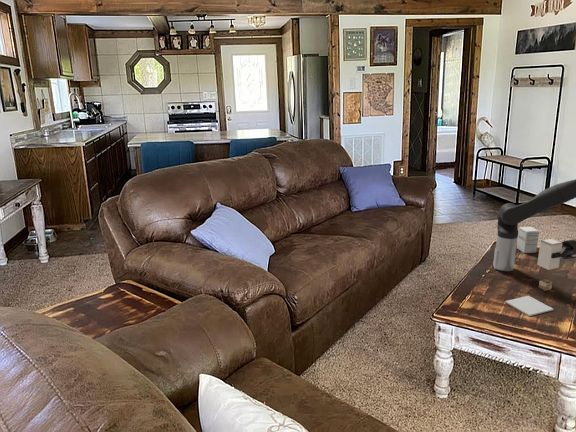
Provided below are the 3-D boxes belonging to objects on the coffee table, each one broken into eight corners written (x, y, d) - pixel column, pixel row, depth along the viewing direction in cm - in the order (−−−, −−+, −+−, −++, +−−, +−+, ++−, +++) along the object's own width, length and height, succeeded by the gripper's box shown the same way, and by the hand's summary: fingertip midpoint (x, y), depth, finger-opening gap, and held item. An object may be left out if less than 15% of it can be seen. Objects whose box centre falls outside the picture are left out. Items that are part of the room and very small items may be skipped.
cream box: (548, 269, 206) (552, 244, 202) (537, 264, 211) (540, 240, 207) (558, 267, 207) (562, 242, 204) (547, 262, 213) (550, 238, 209)
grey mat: (529, 316, 190) (529, 314, 190) (505, 302, 202) (505, 301, 201) (553, 310, 194) (553, 308, 194) (528, 296, 206) (528, 295, 206)
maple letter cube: (545, 290, 211) (546, 283, 210) (538, 287, 214) (539, 280, 213) (551, 289, 212) (552, 282, 211) (544, 286, 215) (545, 278, 214)
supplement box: (516, 248, 260) (519, 227, 256) (528, 247, 261) (531, 226, 257) (523, 253, 253) (526, 231, 249) (536, 252, 254) (539, 230, 250)
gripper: (561, 235, 217) (533, 240, 212) (589, 245, 204) (561, 251, 199) (558, 250, 219) (531, 255, 214) (586, 261, 207) (558, 267, 201)
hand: (545, 253), depth 206 cm, fingers closed on cream box, 6 cm apart
